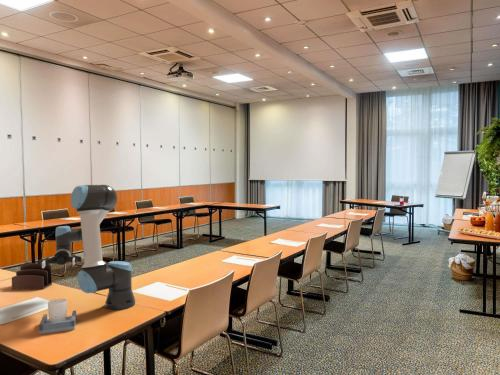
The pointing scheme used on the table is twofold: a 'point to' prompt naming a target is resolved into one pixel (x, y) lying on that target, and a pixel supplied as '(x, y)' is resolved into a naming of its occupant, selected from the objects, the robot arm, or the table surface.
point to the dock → (57, 324)
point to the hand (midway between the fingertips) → (58, 264)
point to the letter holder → (32, 277)
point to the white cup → (57, 310)
